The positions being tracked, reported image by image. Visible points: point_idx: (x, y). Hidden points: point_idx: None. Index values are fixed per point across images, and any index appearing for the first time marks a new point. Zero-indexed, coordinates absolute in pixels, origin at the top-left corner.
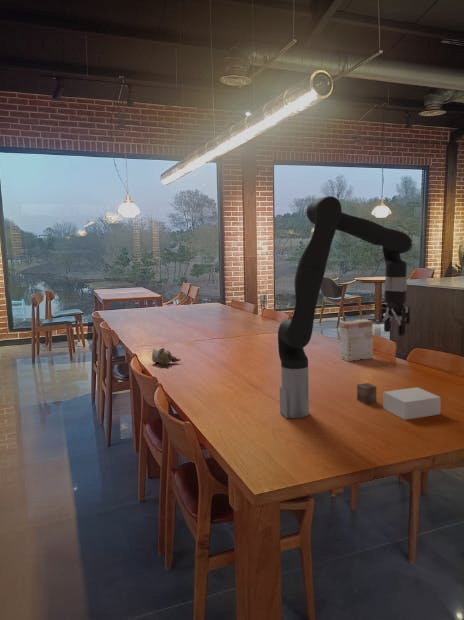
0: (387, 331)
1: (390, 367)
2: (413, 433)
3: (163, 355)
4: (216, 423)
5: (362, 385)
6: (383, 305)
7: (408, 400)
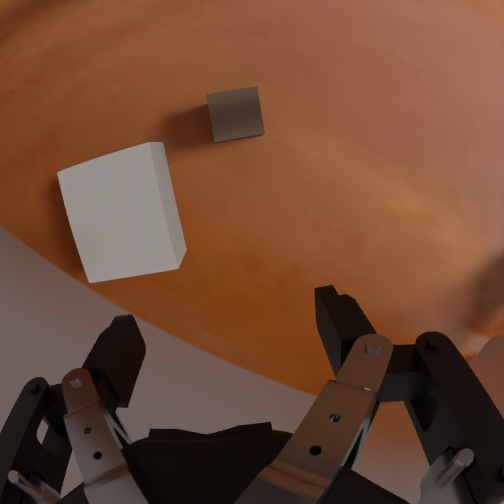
0: (315, 304)
1: (464, 312)
2: (23, 159)
3: None
4: None
5: (240, 100)
6: (484, 488)
7: (67, 187)
